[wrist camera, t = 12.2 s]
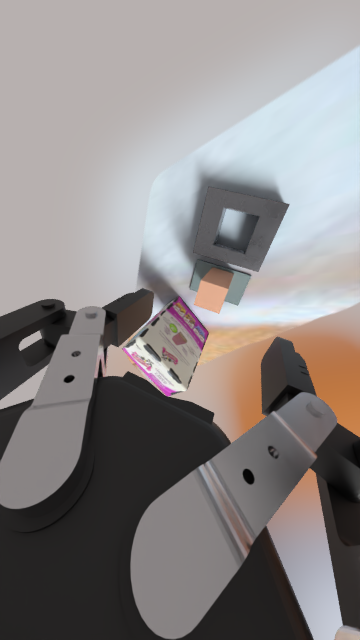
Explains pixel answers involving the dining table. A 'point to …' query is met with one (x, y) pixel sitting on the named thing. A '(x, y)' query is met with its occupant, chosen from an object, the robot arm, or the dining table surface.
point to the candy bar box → (169, 347)
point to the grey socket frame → (264, 208)
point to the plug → (213, 289)
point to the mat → (235, 287)
